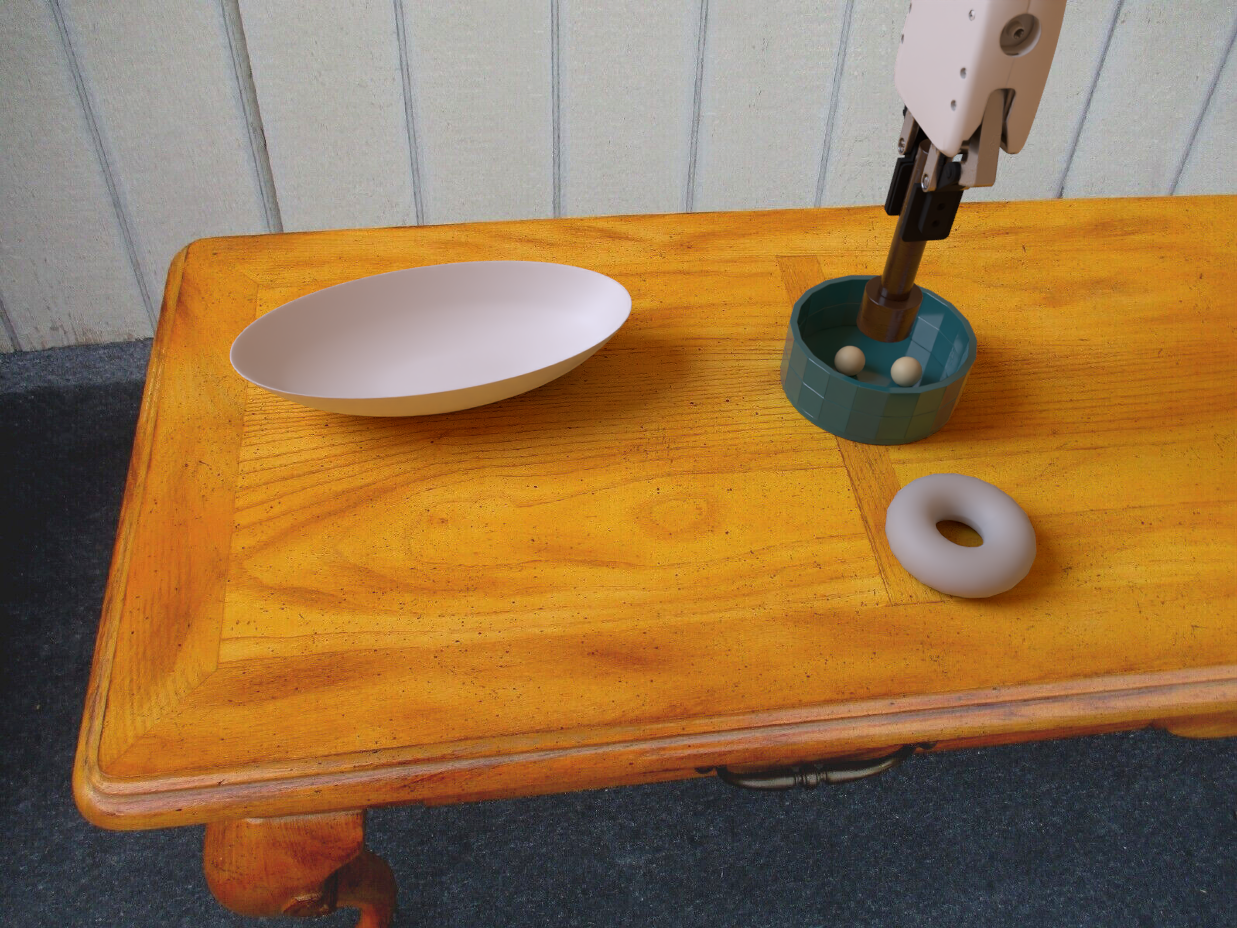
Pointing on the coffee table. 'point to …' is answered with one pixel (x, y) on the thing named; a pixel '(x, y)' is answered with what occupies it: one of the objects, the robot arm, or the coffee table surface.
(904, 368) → the chickpea
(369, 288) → the bowl
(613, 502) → the coffee table surface
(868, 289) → the muddler
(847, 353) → the chickpea
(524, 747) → the coffee table surface
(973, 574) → the donut
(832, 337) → the mixing bowl
